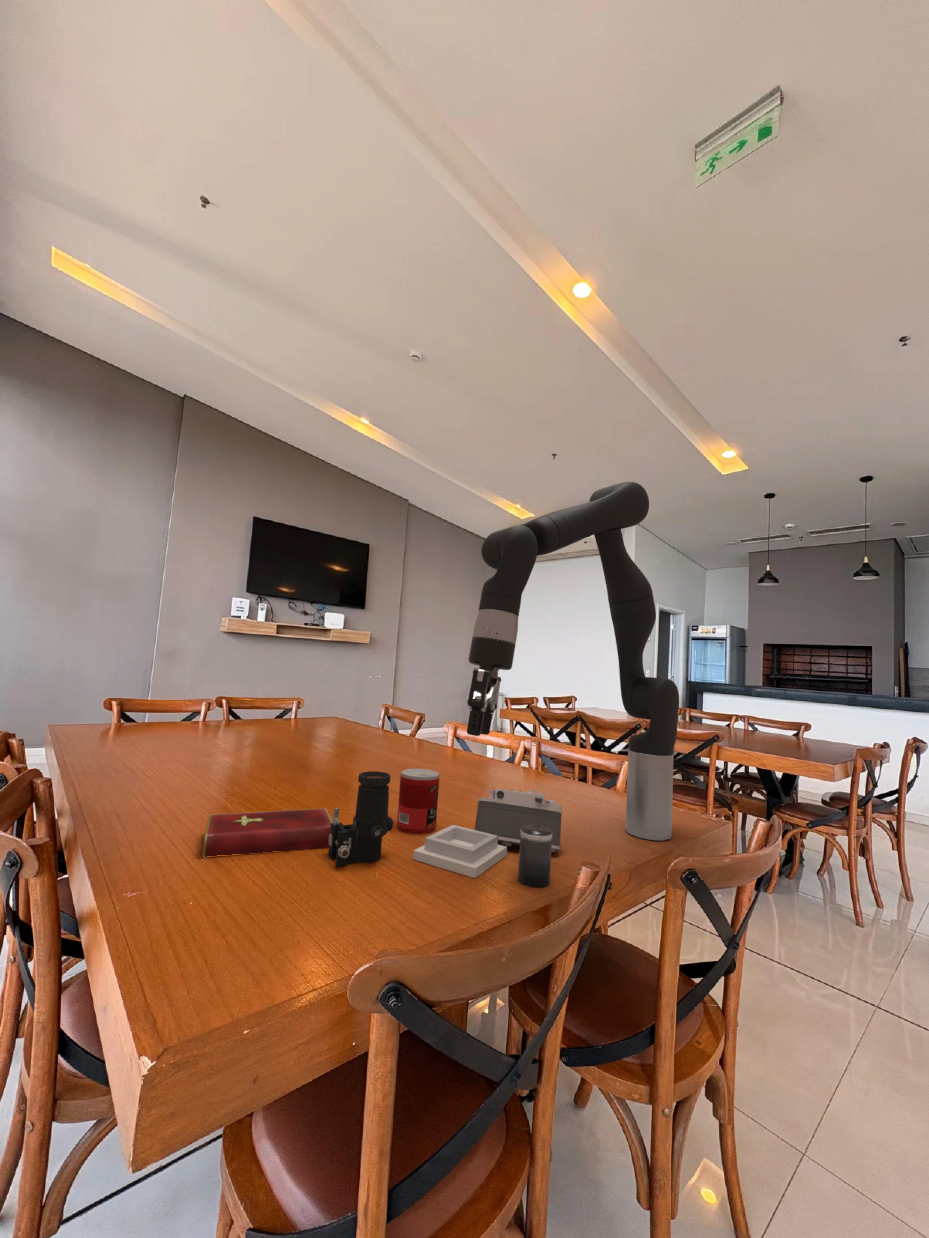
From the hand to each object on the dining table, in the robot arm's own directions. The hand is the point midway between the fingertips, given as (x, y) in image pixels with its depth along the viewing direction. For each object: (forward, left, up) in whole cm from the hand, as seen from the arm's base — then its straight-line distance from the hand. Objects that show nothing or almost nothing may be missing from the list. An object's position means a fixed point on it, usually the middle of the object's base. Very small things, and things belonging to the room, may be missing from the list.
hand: (478, 734), depth 85 cm
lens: (-4, +10, -22) cm, 24 cm away
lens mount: (-5, -4, -22) cm, 23 cm away
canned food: (-13, -19, -22) cm, 32 cm away
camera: (-17, +1, -22) cm, 28 cm away
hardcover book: (+10, -35, -23) cm, 43 cm away
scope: (+6, -17, -22) cm, 29 cm away
